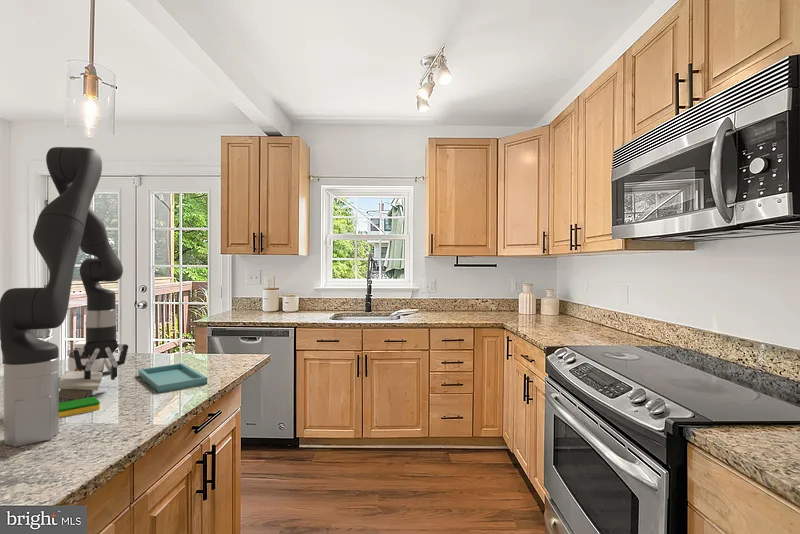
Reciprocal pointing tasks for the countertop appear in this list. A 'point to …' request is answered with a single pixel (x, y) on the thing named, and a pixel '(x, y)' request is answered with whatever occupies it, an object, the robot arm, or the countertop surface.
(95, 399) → the dish sponge
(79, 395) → the packaged product
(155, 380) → the tray
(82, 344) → the spread jar
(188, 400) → the countertop surface
